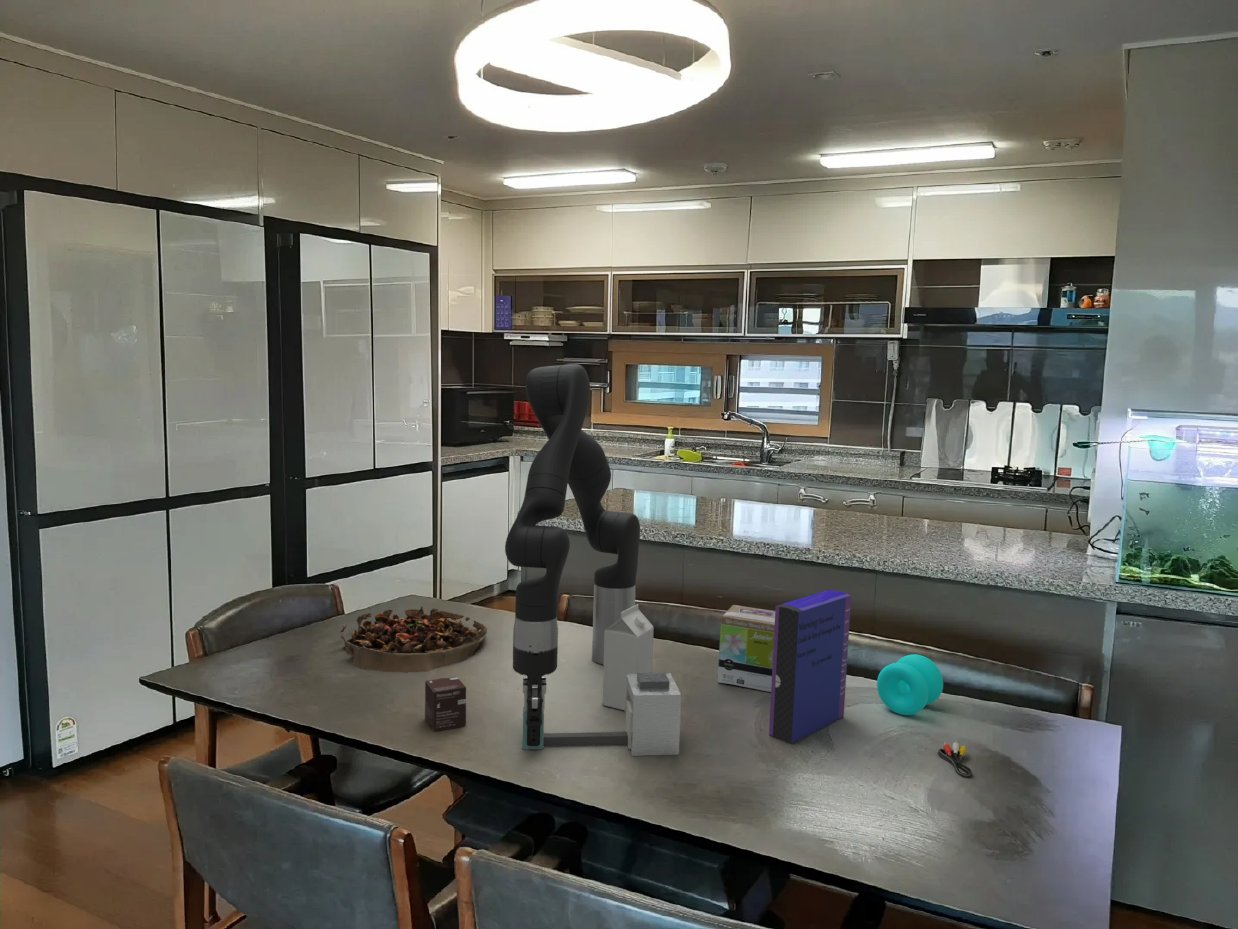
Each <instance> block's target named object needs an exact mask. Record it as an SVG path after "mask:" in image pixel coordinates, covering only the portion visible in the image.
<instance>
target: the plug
mask: <svg viewBox="0 0 1238 929" xmlns="http://www.w3.org/2000/svg"><path fill="white" fill-rule="evenodd" d="M632 705H633V704H632V701H626V732H625V731H604V732H603V731H601V732H600V731H598V732H597V731H596V732H595V731H594V732H551V733H550V732H548V733H547V732H545V733H544V731H545V730H544V729H545V711H544V710H545V709H544V710H543V711H542V724H541V726H540V745H539V746H528V745H527V724H526V720H527V712H526V711H525V710H524V706H523V708H522V750H543V749H544V747H575V746H578V747H579V746H580V747H581V746H583V747H586V746H623V745H627V748H628V750H631V736H632ZM530 718H538V716H531V717H530Z"/></svg>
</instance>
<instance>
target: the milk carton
mask: <svg viewBox="0 0 1238 929" xmlns="http://www.w3.org/2000/svg"><path fill="white" fill-rule="evenodd" d="M653 655H654V626H653V624H652V623H651V622H650V621H649V620H648V619H647V617H646V616H645V615H644V614H643V613H642V612H641V610H640V609H639V604H638V603H637V604H635V606H633V607H631V608H629V609H627V610H625V611H623V612H621V618H620V619H619V620H618V621H616V622H615V623H614V624H612V625H611V626H610V627H608V628H607V629H606V630H605V632H604V665H603V669H602V670H603V672H602V673H603V676H602V702H601V703H602V706H605V707H610V708H613V709H617V710H621V711H625V699H626V674H637V673H653V658H654V657H653Z"/></svg>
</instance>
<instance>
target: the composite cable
mask: <svg viewBox="0 0 1238 929" xmlns="http://www.w3.org/2000/svg"><path fill="white" fill-rule="evenodd" d="M951 746H952V747H951ZM951 746H950V744H948V743H947V742H946V741H944V742H943V746H942V748H938V751H937V755H938V756H939V757H940V758H941V759H943V760H945V761H946V762H948V763H949V764H950V765H951V766H953V768H954V770H955V772H956V774H957V775H958V776H960V777H962V778H966V779H972V777H973V771H972V769H971V768H970V767H969V766H966V765H964V764H962V763H961V761H962V758H963V757H965V755H967V754H966V753H967V752H968V749H967V746H966V745H962V746H960V744H959V743H958V741H956V740H955V741H954V742H953V743H952V745H951ZM945 754H947V755H948V756H947V755H945ZM962 771H963V772H962Z"/></svg>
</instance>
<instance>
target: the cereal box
mask: <svg viewBox="0 0 1238 929" xmlns="http://www.w3.org/2000/svg"><path fill="white" fill-rule="evenodd" d="M851 605H852V595H851V594H848V593H846V592H843V591H839V590H831V589H828V590H824V591H820V592H818V593H814V594H811V595H807V596H804V597H801V598H797V599H795V600H791V601H788V602H784V603H781V604H777V605H775V610H774V611H775V627H774V647H773V666H772V685H771V692H770V709H769V726H768V736H769V737H771V738H774V739H777V740H779V741H782V742H783V743H785V744H786V743H787V744H788V745H793V744H795V743H798V742H799V741H801V740H803V739H806V738H807V737H809V736H811V735H812V734H815V733H817V732H820V731H821V730H823V729H825V728H826V727H828V726H830V725H832V724H834V723H836V722H838V721H840V720H842V719H844V718H845V715H844V714H845V704H846V702H845V701H846V688H847V687H846V685H847V683H846V682H847V671H848V668H847V667H848V654H849V652H848V651H849V639H850V638H849V636H850V621H851Z"/></svg>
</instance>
